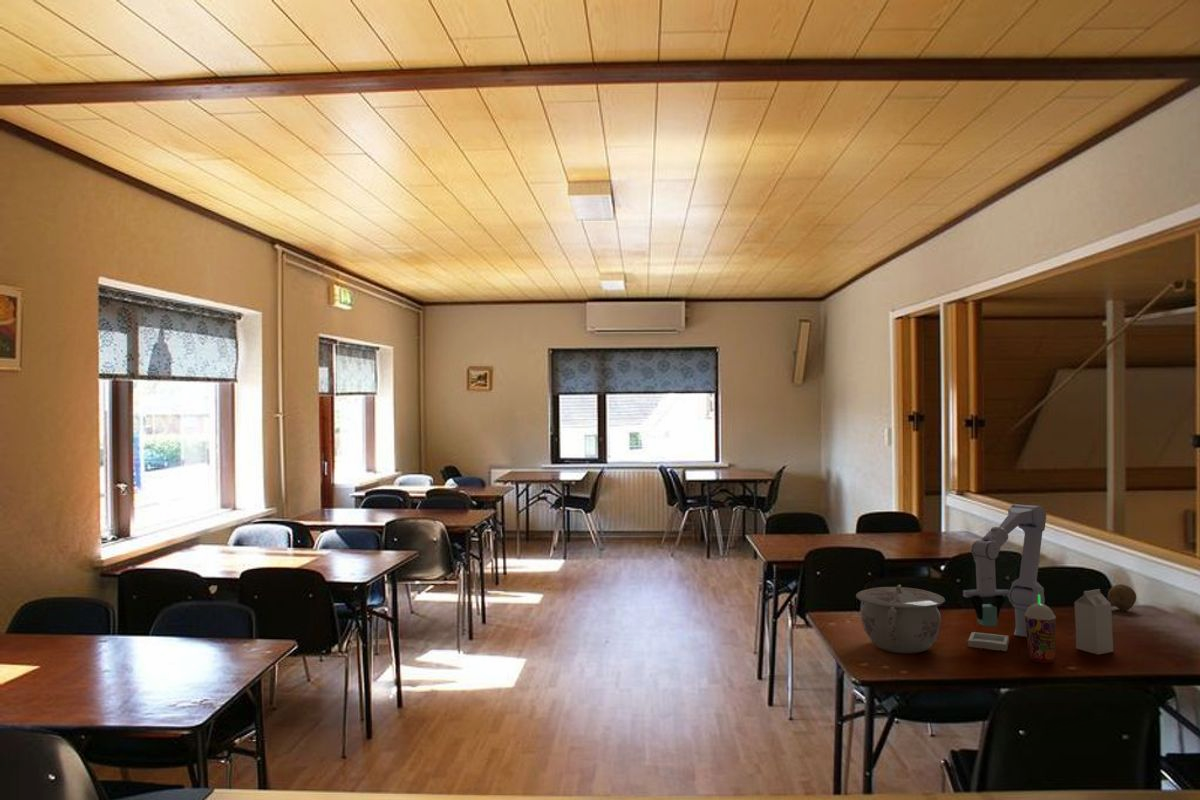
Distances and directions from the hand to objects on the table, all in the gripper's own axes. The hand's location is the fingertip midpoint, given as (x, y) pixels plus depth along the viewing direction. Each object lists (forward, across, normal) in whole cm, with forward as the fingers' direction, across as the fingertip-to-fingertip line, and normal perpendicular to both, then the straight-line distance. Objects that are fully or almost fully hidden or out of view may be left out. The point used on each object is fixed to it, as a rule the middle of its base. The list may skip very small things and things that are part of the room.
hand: (987, 618), depth 254 cm
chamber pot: (+9, +29, +2) cm, 31 cm away
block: (+2, 0, 0) cm, 2 cm away
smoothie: (+9, -8, +17) cm, 21 cm away
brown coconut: (+9, -68, -39) cm, 78 cm away
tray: (+8, 0, 0) cm, 8 cm away
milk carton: (+9, -29, +8) cm, 32 cm away
